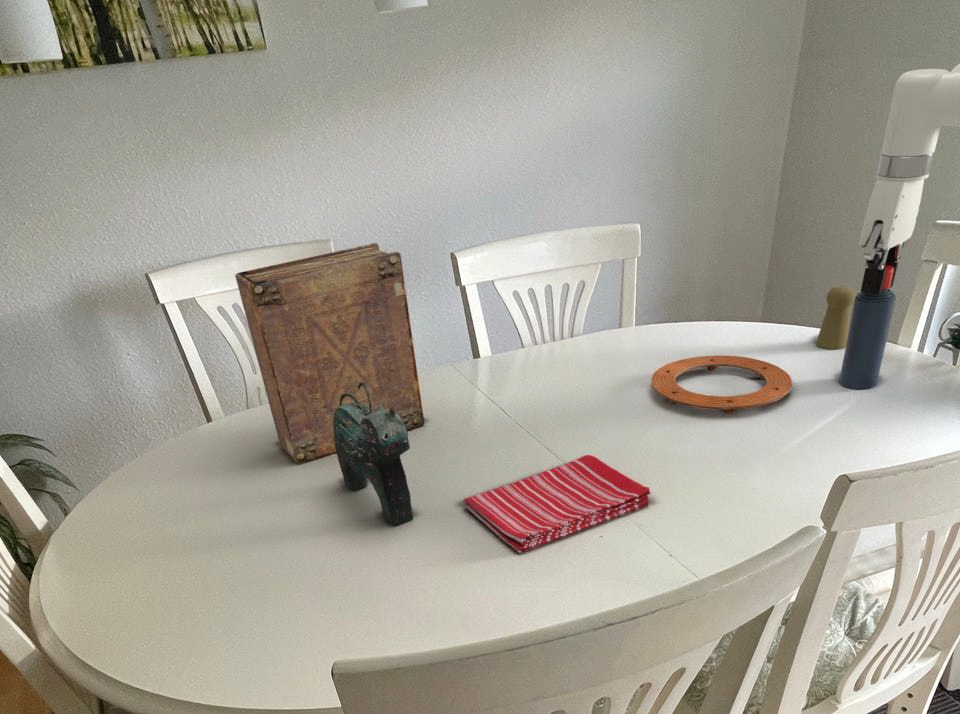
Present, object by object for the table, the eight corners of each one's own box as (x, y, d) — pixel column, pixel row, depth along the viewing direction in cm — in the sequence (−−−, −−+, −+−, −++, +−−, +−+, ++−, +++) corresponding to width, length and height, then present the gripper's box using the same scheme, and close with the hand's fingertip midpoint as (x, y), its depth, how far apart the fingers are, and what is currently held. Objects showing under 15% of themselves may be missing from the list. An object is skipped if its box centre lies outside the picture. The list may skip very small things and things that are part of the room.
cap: (872, 282, 136) (875, 263, 134) (894, 284, 133) (898, 265, 131) (861, 288, 134) (864, 269, 132) (883, 290, 131) (887, 271, 129)
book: (403, 410, 152) (378, 242, 133) (425, 425, 145) (401, 250, 126) (280, 447, 143) (234, 273, 124) (296, 465, 136) (251, 284, 118)
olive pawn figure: (814, 348, 159) (825, 291, 152) (816, 338, 163) (827, 283, 156) (846, 350, 157) (858, 292, 150) (848, 340, 161) (859, 283, 154)
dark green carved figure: (425, 521, 118) (406, 393, 105) (387, 536, 115) (363, 406, 103) (367, 475, 131) (344, 356, 119) (332, 488, 129) (305, 368, 116)
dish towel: (655, 504, 116) (656, 488, 114) (520, 556, 108) (519, 540, 106) (588, 463, 128) (588, 448, 126) (462, 507, 120) (460, 492, 118)
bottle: (883, 380, 144) (908, 268, 131) (866, 391, 140) (891, 277, 128) (849, 373, 147) (871, 264, 135) (832, 384, 144) (853, 273, 132)
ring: (765, 361, 156) (767, 348, 154) (811, 411, 136) (813, 397, 135) (639, 372, 157) (639, 360, 155) (666, 424, 137) (667, 411, 135)
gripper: (904, 156, 129) (877, 275, 140) (855, 175, 120) (831, 299, 132) (951, 158, 124) (920, 280, 136) (904, 177, 116) (875, 306, 127)
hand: (876, 288), depth 134 cm, fingers closed on cap, 3 cm apart
